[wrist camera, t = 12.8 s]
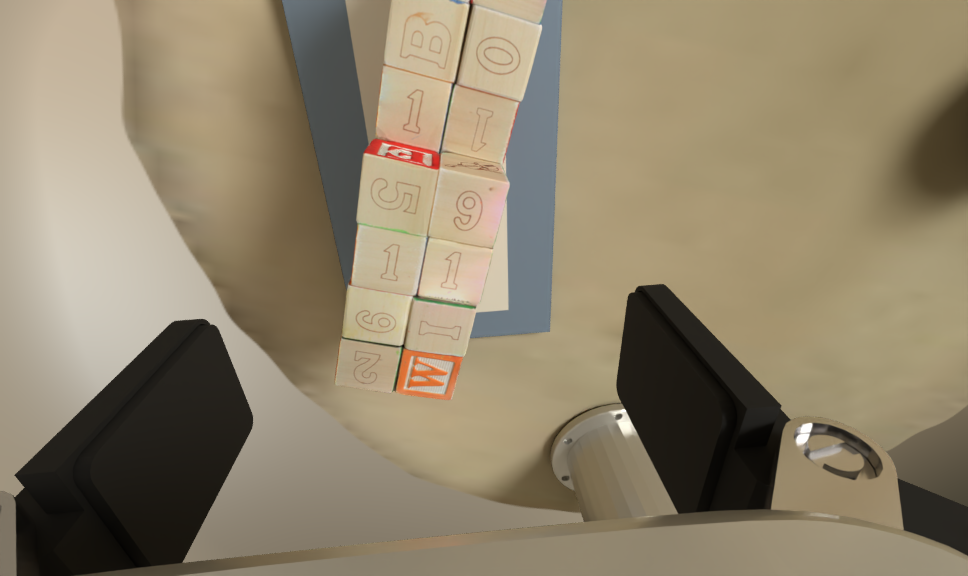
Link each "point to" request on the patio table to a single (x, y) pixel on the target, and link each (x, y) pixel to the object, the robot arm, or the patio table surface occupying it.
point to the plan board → (351, 127)
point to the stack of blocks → (433, 189)
